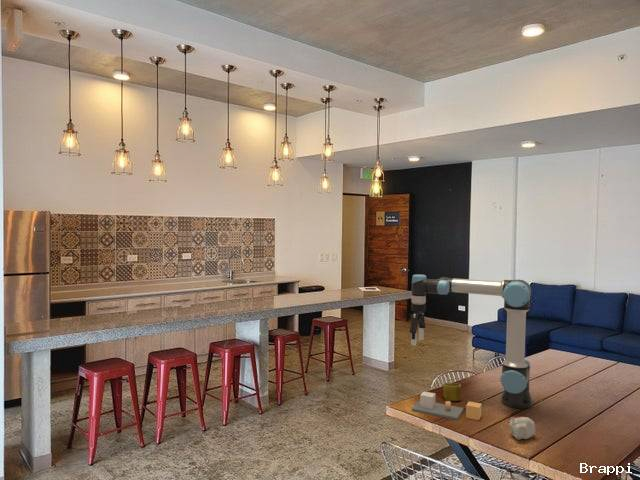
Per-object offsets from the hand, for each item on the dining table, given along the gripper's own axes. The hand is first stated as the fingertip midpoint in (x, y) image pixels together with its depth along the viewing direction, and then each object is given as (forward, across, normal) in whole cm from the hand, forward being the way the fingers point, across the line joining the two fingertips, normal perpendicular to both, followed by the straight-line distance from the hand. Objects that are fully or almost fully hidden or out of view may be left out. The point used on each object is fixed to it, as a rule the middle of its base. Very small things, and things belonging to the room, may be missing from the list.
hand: (417, 342), depth 258 cm
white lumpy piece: (+28, +28, +55) cm, 68 cm away
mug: (+28, -3, +18) cm, 34 cm away
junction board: (+28, +18, +16) cm, 37 cm away
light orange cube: (+28, +17, +33) cm, 47 cm away
